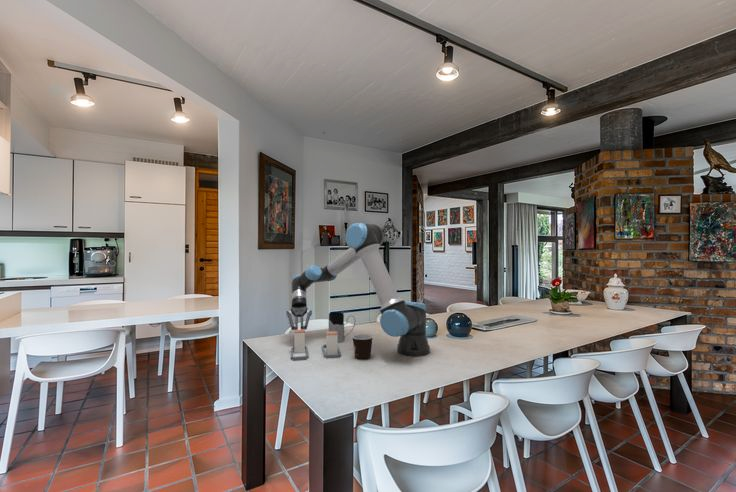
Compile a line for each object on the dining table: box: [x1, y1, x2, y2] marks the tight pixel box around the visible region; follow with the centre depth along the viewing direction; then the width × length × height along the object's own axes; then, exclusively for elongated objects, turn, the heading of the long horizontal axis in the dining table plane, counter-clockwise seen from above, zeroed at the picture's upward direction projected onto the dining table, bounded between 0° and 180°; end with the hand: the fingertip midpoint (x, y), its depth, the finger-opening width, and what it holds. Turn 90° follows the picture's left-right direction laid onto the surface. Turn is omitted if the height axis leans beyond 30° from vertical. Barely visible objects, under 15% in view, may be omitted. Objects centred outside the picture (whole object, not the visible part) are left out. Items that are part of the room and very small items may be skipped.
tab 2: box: [325, 331, 339, 355], centre depth 154 cm, size 4×5×10 cm
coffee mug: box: [352, 333, 373, 361], centre depth 151 cm, size 12×9×10 cm
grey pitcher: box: [328, 312, 356, 344], centre depth 176 cm, size 9×14×15 cm, turn 104°
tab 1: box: [293, 329, 306, 354], centre depth 158 cm, size 4×5×10 cm
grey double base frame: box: [290, 343, 342, 362], centre depth 156 cm, size 18×22×2 cm
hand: (299, 341), depth 162 cm, fingers closed
